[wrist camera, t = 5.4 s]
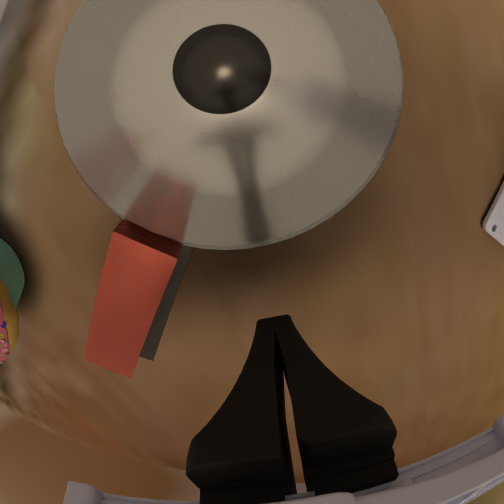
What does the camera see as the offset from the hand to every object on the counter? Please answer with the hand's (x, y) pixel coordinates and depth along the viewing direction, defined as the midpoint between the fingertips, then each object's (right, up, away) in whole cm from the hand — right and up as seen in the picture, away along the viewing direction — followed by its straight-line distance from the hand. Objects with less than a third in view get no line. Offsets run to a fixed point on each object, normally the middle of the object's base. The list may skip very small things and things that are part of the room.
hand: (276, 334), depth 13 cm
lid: (-3, +8, -4) cm, 9 cm away
